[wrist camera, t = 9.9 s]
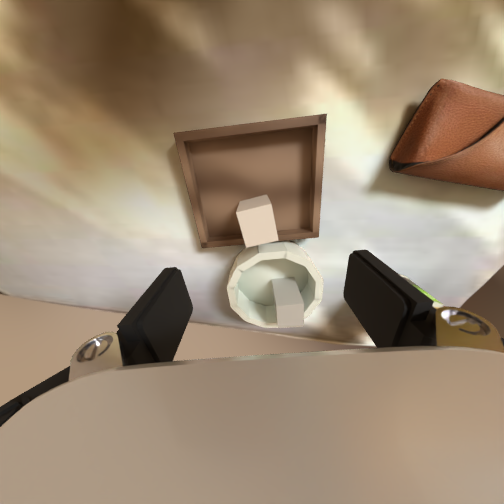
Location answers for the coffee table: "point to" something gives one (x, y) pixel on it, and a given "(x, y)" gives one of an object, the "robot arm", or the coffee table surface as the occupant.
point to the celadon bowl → (260, 280)
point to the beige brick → (257, 221)
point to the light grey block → (288, 303)
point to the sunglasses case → (455, 137)
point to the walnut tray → (255, 175)
